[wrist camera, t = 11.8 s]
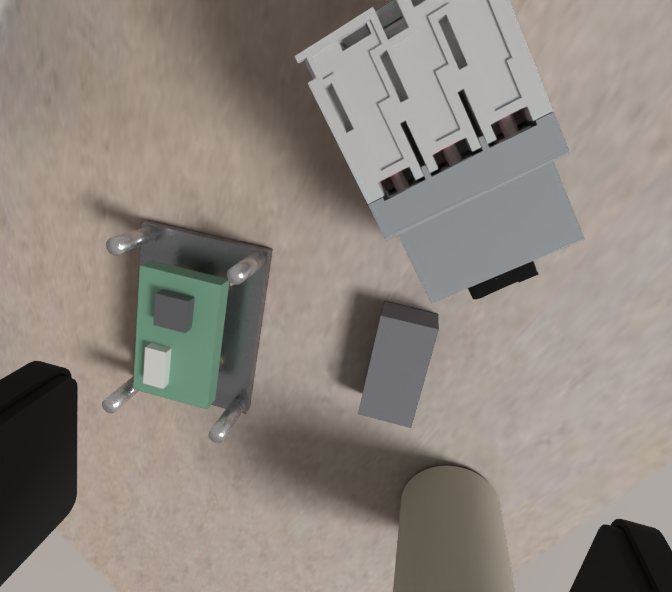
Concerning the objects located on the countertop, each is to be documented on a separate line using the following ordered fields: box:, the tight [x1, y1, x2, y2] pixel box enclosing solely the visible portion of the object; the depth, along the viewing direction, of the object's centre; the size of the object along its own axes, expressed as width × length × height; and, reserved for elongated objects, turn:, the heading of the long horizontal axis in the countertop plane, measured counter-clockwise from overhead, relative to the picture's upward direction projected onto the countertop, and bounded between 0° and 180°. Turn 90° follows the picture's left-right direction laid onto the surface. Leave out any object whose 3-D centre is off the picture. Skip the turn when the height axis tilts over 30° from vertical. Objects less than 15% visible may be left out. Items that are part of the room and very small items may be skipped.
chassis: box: [102, 220, 273, 443], centre depth 38 cm, size 14×10×6 cm
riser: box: [358, 302, 439, 428], centre depth 37 cm, size 8×4×3 cm, turn 170°
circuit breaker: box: [295, 0, 584, 303], centre depth 26 cm, size 8×14×15 cm, turn 28°
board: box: [133, 260, 229, 409], centre depth 37 cm, size 10×6×2 cm, turn 169°
